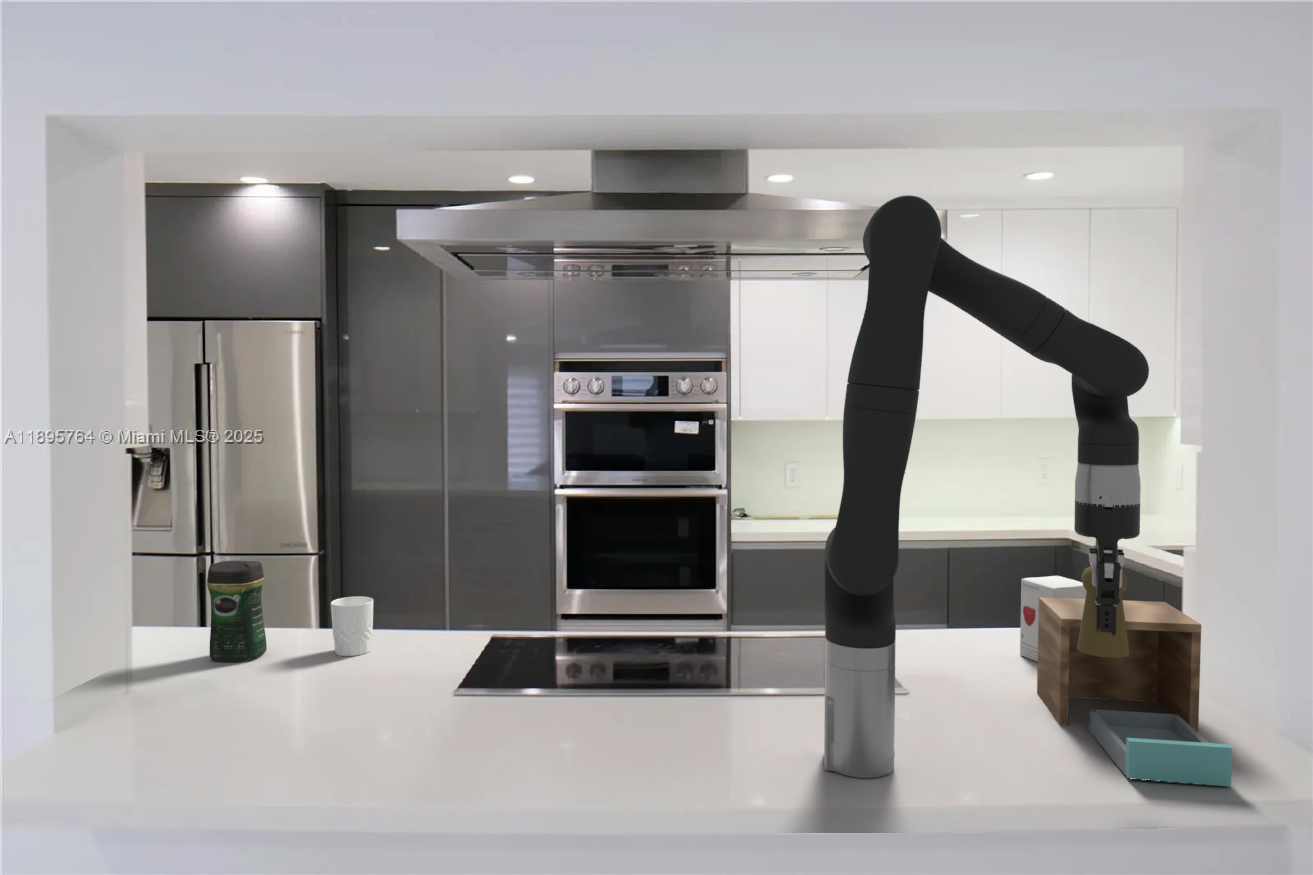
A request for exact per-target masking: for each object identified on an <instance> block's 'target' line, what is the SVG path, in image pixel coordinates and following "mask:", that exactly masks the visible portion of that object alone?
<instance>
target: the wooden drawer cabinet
mask: <svg viewBox="0 0 1313 875" xmlns="http://www.w3.org/2000/svg"><path fill="white" fill-rule="evenodd" d="M1122 600H1123V599H1122ZM1084 603H1085V599H1073V598H1046V597H1039V616H1038V662H1037V671H1036V672H1037V674H1036V676H1037V678H1036V680H1037V681H1036V694H1037V696H1038V697H1039V698H1040V699H1041V701H1042V703H1043V704H1044V705H1045V707H1046V708H1047V709H1048V711H1049V712H1050V714H1051V715H1052V716H1053V718H1054V719H1055V721H1056V722H1057V723H1058V725H1061V726H1062V725H1065V726H1066V725H1068V723H1069V698H1072V699H1073V698H1075V699H1076V698H1077V699H1094V700H1110V701H1111V700H1113V701H1127V702H1129V701H1130V702H1132V701H1133V702H1143V703H1145V702H1146V703H1147V702H1148V703H1157V704H1158V705H1159V706H1160V707H1161V708H1162V709H1163V710H1164V711H1165V712H1167V714H1178V715H1179V716H1180V717H1181V718H1182V719H1183V720H1184V721H1185V722H1187V723H1188V724H1189V725H1190V726H1191V727H1192V728H1193V729H1194V730H1195V731H1196V732H1198V733H1199V717H1200V716H1199V714H1200V686H1201V685H1200V682H1201V679H1200V678H1201V653H1202V652H1201V651H1202V650H1201V646H1202V624H1201V623H1200V622H1198V621H1197V620H1195V619H1193V618H1191V617H1190V616H1188V615H1187V614H1186V613H1184V612H1182V611H1180V610H1179V609H1177V608H1175V607H1174V606H1172V605H1170V604H1169V603H1167V602H1165V601H1153V600H1151V601H1146V600H1125V599H1124V600H1123V608H1124V616H1125V623H1126V631H1127V639H1128V647H1129V655H1128V656H1125V657H1119V658H1109V657H1099V656H1093V655H1089V654H1086V653H1083V652H1081V651H1079V650H1078V648H1077V647H1078V641H1079V634H1080V628H1081V622H1082V616H1083V610H1084Z"/></svg>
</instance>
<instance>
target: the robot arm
mask: <svg viewBox="0 0 1313 875" xmlns="http://www.w3.org/2000/svg"><path fill="white" fill-rule="evenodd" d="M941 225H942V224H941V221H940V218H939V215H938V212H936V210H935V208H934V207H933V206H932V204H931V203H929V201H928V200H925V199H924V198H922V197H920V196H917V195H912V194H903V195H899V196H895V197H893V198H891V199H889V200H887V201H886V202H885V203H883V204H882V205H881V206H879V208H877V209H876V211H875V212H874V213H873V214H872V216H871V218H870V219H869V221H868V222H867V225H866V227H865V230H864V232H863V236H862V245H863V246H862V247H863V252H864V255H865V256H866V258H867V260H868V282H867V283H868V284H867V285H868V286H867V296H866V304H865V309H864V314H863V316H862V321H861V323H860V324H861V325H860V328H859V331H858V335H857V338H856V341H855V345H854V349H853V352H852V356H851V361H850V365H849V370H848V376H847V383H846V390H845V397H844V407H843V417H842V458H843V460H842V461H843V464H842V465H843V483H842V484H843V486H842V493H841V499H840V504H839V510H838V513H837V514H838V515H837V519H836V524H835V526H834V528H833V529H832V530H831V531H830V533H829V534H828V536H827V538H826V542H825V547H824V626H825V627H824V632H825V633H824V637H825V639H824V640H825V642H824V643H825V646H824V647H825V648H824V649H825V653H824V654H825V655H824V656H825V657H824V658H825V659H824V663H825V664H824V665H825V668H824V730H823V731H824V734H823V736H824V740H823V745H824V747H823V750H824V752H823V754H824V757H823V758H824V760H823V763H824V766H823V767H824V770H825V771H831V772H836V773H837V774H839V775H843V776H847V777H854V778H861V779H870V778H871V779H872V778H879V777H883V776H884V777H885V776H886V775H888V774H891V773H892V772H893V770H894V769H895V755H896V754H895V732H896V731H895V726H896V725H895V720H896V719H895V717H896V716H895V715H896V712H895V711H896V705H895V704H896V640H897V639H896V635H897V633H896V632H897V631H896V630H897V629H896V628H897V627H896V626H897V625H896V624H897V623H896V622H897V621H896V615H895V603H894V601H895V600H894V599H895V598H894V579H895V576H896V573H897V571H898V568H899V562H900V561H899V558H900V556H899V555H900V554H899V553H900V552H899V551H900V550H899V548H900V544H899V543H900V542H899V540H900V537H899V534H900V531H899V529H900V509H901V508H900V505H901V495H902V487H903V482H904V477H905V474H906V469H907V465H908V460H909V458H910V457H909V456H910V451H911V445H912V440H913V435H914V430H915V424H916V418H917V412H918V403H919V395H920V389H921V388H920V387H921V378H922V377H921V376H922V375H921V374H922V365H923V364H922V363H923V362H922V361H923V351H924V333H925V332H924V330H925V328H924V326H925V324H924V323H925V312H926V305H927V304H926V303H927V299H928V295H929V294H928V293H931V294H933V295H935V296H936V297H939V298H940V299H942V300H944V301H946V302H948V303H950V304H951V305H953V306H955V307H956V308H958V309H960V310H962V311H963V312H964V313H966V314H968V315H970V316H971V317H972V318H974V319H976V320H977V321H979V322H980V323H982V324H983V325H985V327H987V328H989V329H990V330H992V331H994V332H995V333H997V334H999V335H1000V336H1001V337H1003V338H1004V339H1006V340H1008V342H1010V343H1012V344H1014V345H1015V346H1017V347H1019V349H1021V350H1023V351H1024V352H1026V353H1028V354H1030V356H1033V357H1034V358H1036V359H1038V360H1040V361H1042V362H1045V363H1048V364H1052V365H1056V366H1058V367H1060V368H1062V369H1063V370H1065V371H1066V372H1068V373H1070V374H1071V394H1072V400H1073V406H1074V413H1075V417H1076V421H1077V422H1076V423H1077V426H1078V427H1077V428H1078V434H1077V465H1076V467H1077V468H1076V474H1075V479H1074V527H1073V528H1074V532H1075V533H1076V534H1077V535H1079V536H1082V537H1085V538H1094V539H1095V544H1094V545H1093V547H1092V546H1091V547H1088V560H1089V564H1090V567H1091V566H1092V585H1093V586H1094V587H1096V597H1095V603H1096V606H1097V627H1096V631H1098V630H1099V628H1100V631H1101V632H1111V633H1112V636H1114V635H1115V634H1116V607H1118V605H1119V603H1120V599H1119V588H1121V587H1122V571H1123V566H1124V565H1125V552H1124V549H1122V548H1119V547H1118V546H1119V545H1118V543H1119V541H1121V540H1122V539H1123V540H1131V539H1135V538H1137V537H1139V535H1140V533H1141V489H1142V488H1141V477H1140V476H1141V475H1140V469H1139V467H1140V466H1139V462H1140V456H1139V455H1140V434H1139V433H1140V432H1139V428H1138V425H1137V423H1136V422H1135V421H1134V420H1133V419H1132V418H1131V416H1130V413H1129V412H1130V411H1129V410H1130V409H1129V400H1128V397H1130V396H1132V395H1134V394H1137V393H1138V392H1139V391H1140V390H1141V389H1142V388H1144V386H1145V385H1146V384H1147V381H1148V379H1149V375H1150V368H1149V367H1150V366H1149V363H1148V360H1147V357H1146V356H1145V355H1144V353H1143V352H1142V351H1141V350H1140V349H1139V348H1138V347H1136V346H1135V344H1133V343H1131V342H1130V341H1128V340H1126V339H1124V338H1123V337H1121V336H1119V335H1117V334H1116V333H1113V332H1111V331H1108V330H1107V329H1104V328H1103V327H1100V326H1098V325H1096V324H1094V323H1091V322H1089V321H1087V320H1084V319H1082V318H1080V317H1078V316H1077V315H1075V314H1074V313H1072V312H1071V311H1070V310H1068V309H1067V308H1066V307H1064V306H1062V305H1060V304H1059V303H1057V302H1056V301H1054V300H1052V299H1051V298H1050V297H1048V296H1046V295H1045V294H1043V293H1042V292H1040V291H1038V290H1036V289H1034V287H1031V286H1030V285H1027V284H1025V283H1023V282H1021V281H1019V280H1016V279H1014V278H1012V277H1010V276H1008V275H1005V274H1002V273H1000V272H998V271H996V270H993V269H991V268H989V267H986V265H985V266H984V265H982V264H980V263H978V262H976V261H975V260H973V259H971V258H969V257H967V256H966V255H965V254H963V253H961V251H959V250H957V249H956V248H954V247H953V246H951V245H950V244H949V243H948V242H947V241H945V239H943V238H942V226H941ZM1096 568H1097V578H1096ZM1103 589H1108V590H1113V595H1104V594H1101V591H1102V590H1103ZM1106 625H1107V626H1106Z"/></svg>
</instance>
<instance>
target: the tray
mask: <svg viewBox="0 0 1313 875" xmlns="http://www.w3.org/2000/svg"><path fill="white" fill-rule="evenodd" d="M1088 712H1089V713H1088V730H1089V731H1090V733H1091V734H1092V735H1093V736H1094V738H1095V739H1096V740H1097V742H1098V743H1099V744H1100V745H1101V746H1102V748H1103V749H1104V750H1105V751H1106V753H1107V754H1108V755H1109V757H1110V758H1111V759H1112V761H1113V762H1114V763H1115V764H1116V765H1117V767H1118V768H1119V769H1120V771H1121V772H1122V773H1123V775H1124V776H1125V775H1126V776H1125V777H1126V779H1128V778H1133V779H1134V778H1135V779H1144V780H1143V781H1146V780H1145V779H1147V780H1148V779H1149V780H1158V781H1157V782H1160V781H1168V782H1167V783H1174V782H1179V783H1178V784H1188V783H1196V784H1195V785H1202V784H1204V786H1217V787H1218V786H1220V787H1230V788H1231V786H1232V760H1233V755H1232V754H1233V747H1232V746H1231V745H1229V744H1228V743H1214V742H1213V743H1212V742H1209V741H1208V740H1206V738H1204V737H1203V736H1202V735H1201V734H1200V733H1199V731H1198V732H1196V731H1195V730H1194V729H1193V728H1192V727H1191V726H1190V725H1189V724H1188V723H1187V722H1185V721H1184V720H1183V719H1182V718H1181V717H1180V716H1179V715H1178V714H1169V713H1160V712H1143V711H1142V712H1141V711H1130V710H1129V711H1128V710H1127V711H1126V710H1111V709H1110V710H1109V709H1107V710H1106V709H1095V708H1088ZM1159 780H1160V781H1159ZM1169 781H1170V782H1169ZM1205 784H1206V785H1205ZM1207 784H1208V785H1207Z"/></svg>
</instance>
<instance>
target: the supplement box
mask: <svg viewBox="0 0 1313 875" xmlns="http://www.w3.org/2000/svg"><path fill="white" fill-rule="evenodd" d="M1020 583H1021V586H1020V587H1021V589H1020V632H1019V633H1020V634H1019V635H1020V636H1019V637H1020V639H1019V642H1020V643H1019V655H1020V656H1022V657H1025V658H1027V659H1029V660H1032V661H1033V662H1037V663H1038V616H1039V597H1046V598H1073V599H1085V597H1086V589H1085V588H1084V586H1083V583H1082V581H1078V580H1077V579H1076V580H1075V579H1072V578H1069V577H1068V578H1067V577H1064V576H1060V575H1049V576H1039V577H1038V576H1037V577H1036V576H1035V577H1034V576H1033V577H1024V578H1021V582H1020Z"/></svg>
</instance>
